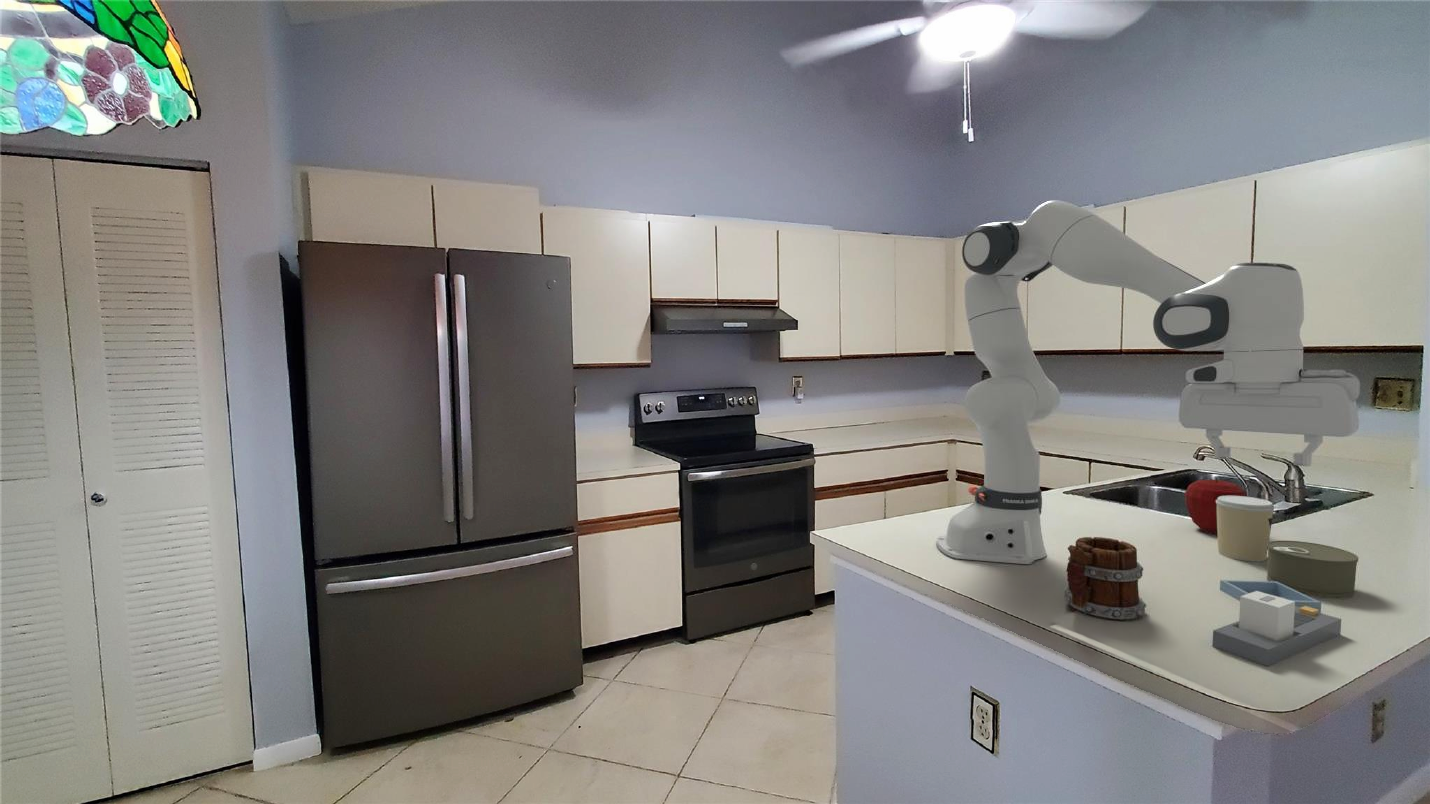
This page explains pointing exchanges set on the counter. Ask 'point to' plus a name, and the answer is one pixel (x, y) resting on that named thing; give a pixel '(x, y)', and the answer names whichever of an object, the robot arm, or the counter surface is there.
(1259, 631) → the charger
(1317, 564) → the can
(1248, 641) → the grey compartment box
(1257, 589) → the tray
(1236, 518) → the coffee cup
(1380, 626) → the counter surface
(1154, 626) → the counter surface
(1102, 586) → the mug
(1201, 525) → the apple
